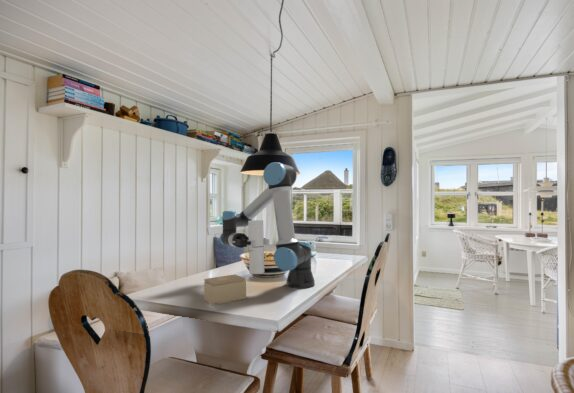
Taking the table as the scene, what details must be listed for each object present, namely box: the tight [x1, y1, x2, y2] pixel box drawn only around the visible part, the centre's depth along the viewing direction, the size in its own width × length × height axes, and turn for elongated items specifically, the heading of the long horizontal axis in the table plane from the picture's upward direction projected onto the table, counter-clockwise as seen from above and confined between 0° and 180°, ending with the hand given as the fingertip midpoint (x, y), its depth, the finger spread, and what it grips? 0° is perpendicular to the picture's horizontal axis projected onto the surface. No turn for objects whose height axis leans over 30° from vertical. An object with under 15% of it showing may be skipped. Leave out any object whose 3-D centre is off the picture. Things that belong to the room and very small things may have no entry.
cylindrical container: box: [247, 219, 265, 275], centre depth 157 cm, size 7×7×25 cm
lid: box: [203, 274, 246, 285], centre depth 149 cm, size 10×16×1 cm, turn 127°
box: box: [203, 280, 247, 306], centre depth 149 cm, size 10×16×8 cm, turn 127°
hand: (262, 242), depth 153 cm, fingers closed on cylindrical container, 7 cm apart
